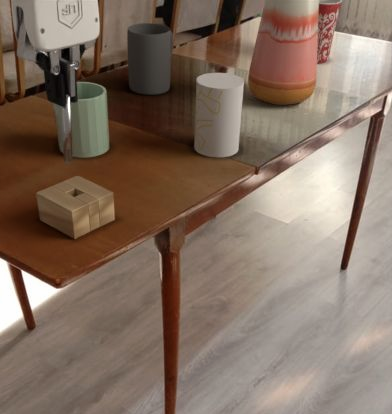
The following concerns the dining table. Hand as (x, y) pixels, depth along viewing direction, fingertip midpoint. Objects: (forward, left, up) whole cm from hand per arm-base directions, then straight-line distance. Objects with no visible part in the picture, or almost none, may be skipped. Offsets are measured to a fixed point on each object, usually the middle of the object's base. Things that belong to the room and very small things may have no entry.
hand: (62, 100), depth 82 cm
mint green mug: (+18, +20, -18) cm, 33 cm away
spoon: (0, 0, -9) cm, 9 cm away
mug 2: (+94, +21, -18) cm, 98 cm away
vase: (+65, +9, -18) cm, 68 cm away
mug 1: (+51, +33, -18) cm, 64 cm away
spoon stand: (0, 0, -18) cm, 18 cm away
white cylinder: (+35, +2, -18) cm, 40 cm away
